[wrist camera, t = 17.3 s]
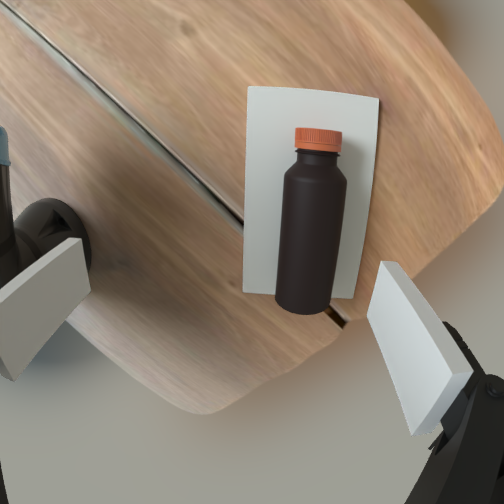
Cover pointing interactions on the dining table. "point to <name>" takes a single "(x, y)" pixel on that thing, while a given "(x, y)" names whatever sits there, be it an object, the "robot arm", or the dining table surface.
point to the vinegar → (311, 223)
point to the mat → (284, 156)
